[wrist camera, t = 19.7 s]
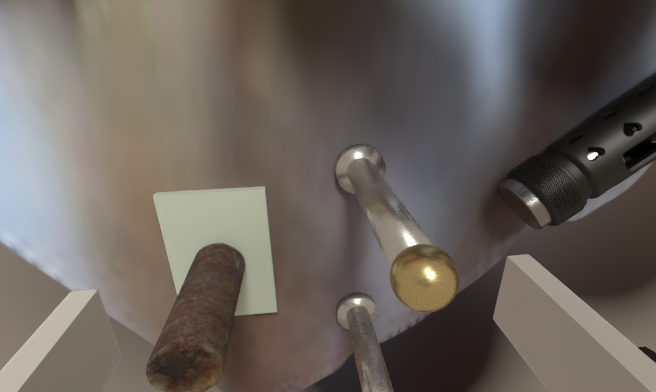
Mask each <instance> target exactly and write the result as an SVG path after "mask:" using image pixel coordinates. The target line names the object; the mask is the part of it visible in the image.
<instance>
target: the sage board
mask: <svg viewBox="0 0 656 392" xmlns="http://www.w3.org/2000/svg"><path fill="white" fill-rule="evenodd" d="M153 199H154V203H155V207H156V211H157V215H158V219H159V223H160V227H161V231H162V235H163V239H164V243H165V247H166V251H167V255H168V259H169V263H170V267H171V271H172V275H173V279H174V283H175V287H176V292H177V296H178V294H179V292H180V289H181V287H182V285H183V283H184V280H185V278H186V276H187V273H188V271H189V269H190V267H191V264H192V262H193V260H194V258H195V256H196V254H197V252H198V251H199V250H200V249H202V248H203V247H204V246H206V245H210V244H214V243H224V244H227V245H230V246H232V247H234V248H235V249H236V250H238V251H240V253H241V254H242V256H243V257H244V260H245V269H244V274H243V279H242V284H241V288H240V293H239V297H238V302H237V306H236V311H235V315H234V316H239V315H250V314H261V313H272V312H277V298H276V288H275V278H274V268H273V258H272V248H271V238H270V228H269V218H268V208H267V198H266V188H265V186H262V187H245V188H227V189H210V190H192V191H175V192H157V193H155V194H154V195H153Z"/></svg>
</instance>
